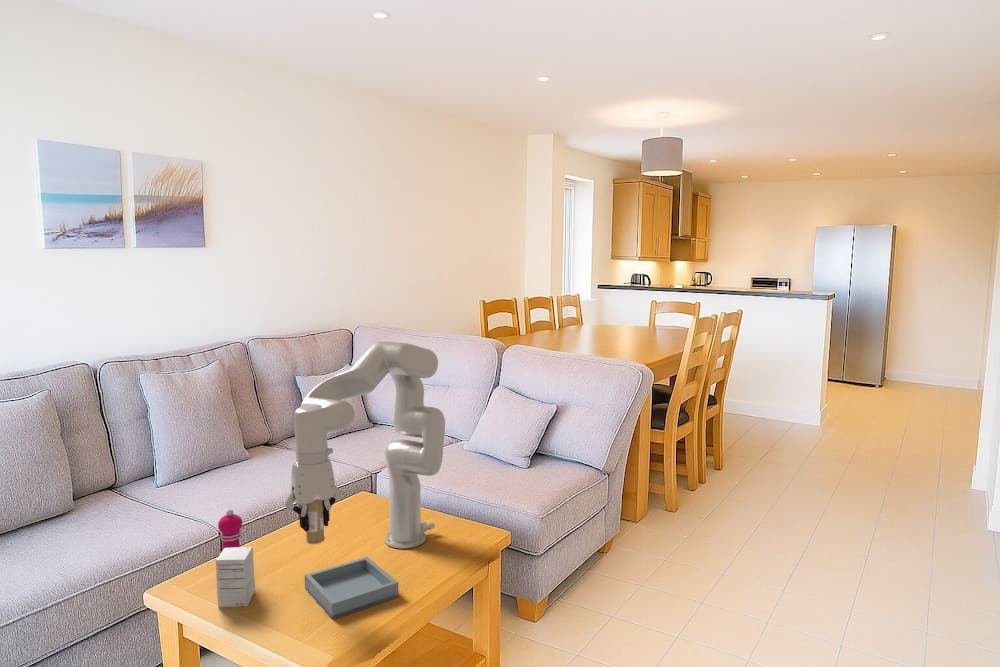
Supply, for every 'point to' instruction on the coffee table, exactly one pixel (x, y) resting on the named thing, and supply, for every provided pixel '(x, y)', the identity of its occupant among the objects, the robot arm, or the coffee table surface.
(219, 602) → the supplement box
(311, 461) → the robot arm
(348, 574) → the tray
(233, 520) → the pepper mill
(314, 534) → the sprinkles bottle
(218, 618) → the coffee table surface
